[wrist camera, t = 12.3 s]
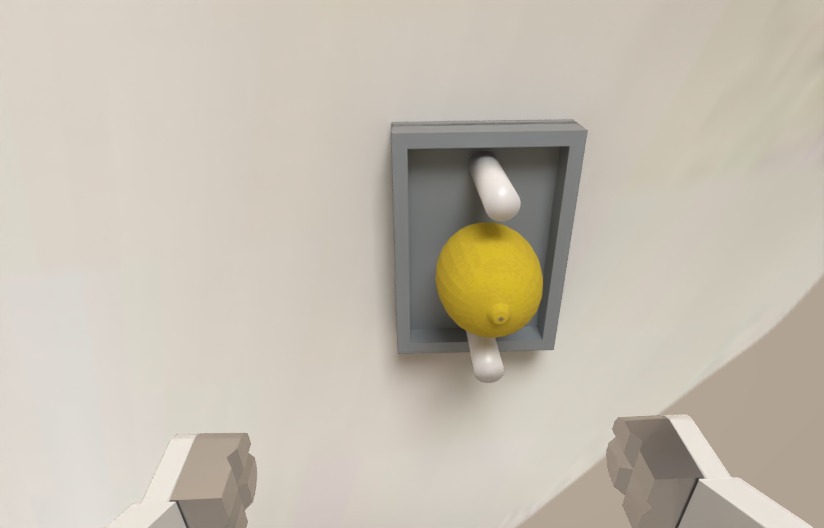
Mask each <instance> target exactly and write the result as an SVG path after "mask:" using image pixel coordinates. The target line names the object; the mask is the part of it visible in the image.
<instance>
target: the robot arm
mask: <svg viewBox="0 0 824 528" xmlns="http://www.w3.org/2000/svg"><path fill="white" fill-rule="evenodd" d="M612 430H613V432H614V434H615V436H616V437H615V438H614V439H613V440H612V441H610V442H609V443H608V448H607V452H606V458H607V468H608V471H609V475H610V478H611V480H612V483H613V485H614V487H615V488H617V489H618V490H619V491H620V492H621V493H623V494H624V495H625V497H624V501H623V504H622V506H623V508H624V511H625V513H626V515H627V517H628V520H629V522H630V525H631V527H632V528H813V527H812V526H810V525H809V524H807V523H806V522H804V521H803V520H801V519H800V518H798V517H797V516H795V515H794V514H792V513H791V512H789V511H788V510H786V509H785V508H783V507H782V506H780V505H779V504H777V503H776V502H774V501H773V500H771V499H770V498H768V497H767V496H765V495H764V494H762V493H761V492H759V491H758V490H757V489H755V488H753V487H752V486H751V485H749V484H748V483H746V482H744V481H743V480H741V479H740V478H738V477H737V478H736V477H734V478H731V476H730V475H729V473H728V472H727V470H726V469H725V467H724V466H723V464H722V463H721V461H720V460H719V458H718V457H717V455H716V454H715V452H714V451H713V449H712V448H711V447H710V445H709V444H708V442H707V441H706V439H705V438H704V436H703V435H702V434H701V432H700V430H699V429H698V427H697V426H696V424H695V423H694V421H693V420H692V418H690V417H689V416H688V415H663V416H661V415H655V416H636V417H618V418H617V419H616V420H615V422H614V425H613V428H612ZM250 445H251V442H250V439H249V436H248V433H204V434H176V435H175V436H174V437H173V438H172V439H171V440H170V442H169V444H168V446H167V448H166V450H165V453H164V455H163V457H162V459H161V461H160V463H159V465H158V468H157V470H156V472H155V474H154V476H153V478H152V480H151V483H150V485H149V487H148V489H147V491H146V493H145V495H144V498H143V500H142V502H141V503H134V504H132V505H131V506H130V507H129V508H128V509H127V510H125V511H124V512H123V513H122V514H121V515H119V516H118V517H117V518H116V519H115V520H114V521H112V522H111V523H110V524H109V525H108V526H106V527H105V528H246V527H247V523H248V520H247V517H246V514H245V510H246V508H247V507H248V506H249V505H250V504H251V503H252V502H253V499H254V495H255V491H256V483H257V466H256V461H255V457H253V456H252V455H251V454H249V453H248V452H249V449H250Z"/></svg>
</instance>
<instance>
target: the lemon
mask: <svg viewBox="0 0 824 528" xmlns="http://www.w3.org/2000/svg"><path fill="white" fill-rule="evenodd" d="M435 279H436V285H437V291H438V295H439V298H440V300H441V302H442V304H443V306H444V308H445V310H446V312H447V313H448V315H449V316H450V317H451V318H452V319H453V320H454V321H455V322H456V324H457V325H458V326H460V327H461V328H463V329H464V330H466V331H468V332H469V333H472V334H475V335H478V336H481V337H488V338H496V337H504V336H507V335H510V334H513V333H515V332H516V331H518V330H520V329H522V328H523V327H524V326H525V325H526V324H527V323H528V322H529V321H530V320H531V319H532V317H533V316H534V315H535V313H536V312H537V310H538V307H539V304H540V301H541V299H542V290H543V276H542V271H541V267H540V263H539V260H538V257H537V255H536V254H535V252H534V250H533V248H532V247H531V245H530V244H529V243H528V241H527V240H525V239H524V238H523V237H522V236H521V235H520V234H519V233H518V232H516V231H515V230H513V229H511V228H509V227H507V226H505V225H502V224H498V223H494V222H480V223H475V224H471V225H468V226H466V227H464V228H462V229H460V230H459V231H457V232H456V233H455V234H454V235H453V236H451V237H450V238H449V240H448V241H447V242H446V244H445V245H444V246H443V248H442V250H441V253H440V255H439V258H438V260H437V266H436V276H435Z"/></svg>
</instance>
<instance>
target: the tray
mask: <svg viewBox="0 0 824 528" xmlns="http://www.w3.org/2000/svg"><path fill="white" fill-rule="evenodd" d="M587 131H588V130H586V129H585V128H584V127H582V126H581V125H580V124H578V123H577V122H575V121H574V120H509V121H443V122H392V131H391V138H392V172H393V207H394V241H395V276H396V311H397V345H398V354H401V353H444V352H470V353H471V358H472V363H473V368H474V373H475V376H476V378H477V379H478V380H479V381H481V382H484V383H492V382H495V381H497V380H499V379H500V378H501V377H502V376H503V373H504V367H503V363H502V360H501V356H500V353H499V351H530V350H554V344H555V338H556V331H557V325H558V318H559V312H560V306H561V299H562V293H563V286H564V280H565V273H566V267H567V260H568V254H569V247H570V241H571V234H572V228H573V221H574V215H575V209H576V202H577V196H578V189H579V183H580V176H581V170H582V163H583V157H584V150H585V144H586V137H587ZM480 222H494V223H498V224H502V225H505V226H507V227H509V228H511V229H513V230H515V231H516V232H518V233H519V234H520V235H521V236H522V237H523V238H524V239H525V240H527V241H528V243H529V244H530V245H531V247H532V248H533V250H534V252H535V254H536V255H537V257H538V260H539V263H540V267H541V271H542V276H543V290H542V299H541V301H540V304H539V307H538V310H537V312H536V313H535V315H534V316H533V317H532V319H531V320H530V321H529V322H528V323H527V324H526V325H525V326H524V327H523V328H522V329H520V330H518V331H516V332H515V333H513V334H510V335H507V336H504V337H496V338H488V337H481V336H478V335H475V334H472V333H469V332H468V331H466V330H464V329H463V328H461V327H460V326H458V325H457V324H456V322H455V321H454V320H453V319H452V318H451V317H450V316H449V315H448V313H447V312H446V310H445V308H444V306H443V304H442V302H441V300H440V298H439V295H438V291H437V285H436V279H435V276H436V266H437V260H438V258H439V255H440V253H441V250H442V248H443V246H444V245H445V244H446V242H447V241H448V240H449V238H450V237H451V236H453V235H454V234H455V233H456V232H457V231H459V230H460V229H462V228H464V227H466V226H468V225H471V224H475V223H480Z"/></svg>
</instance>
